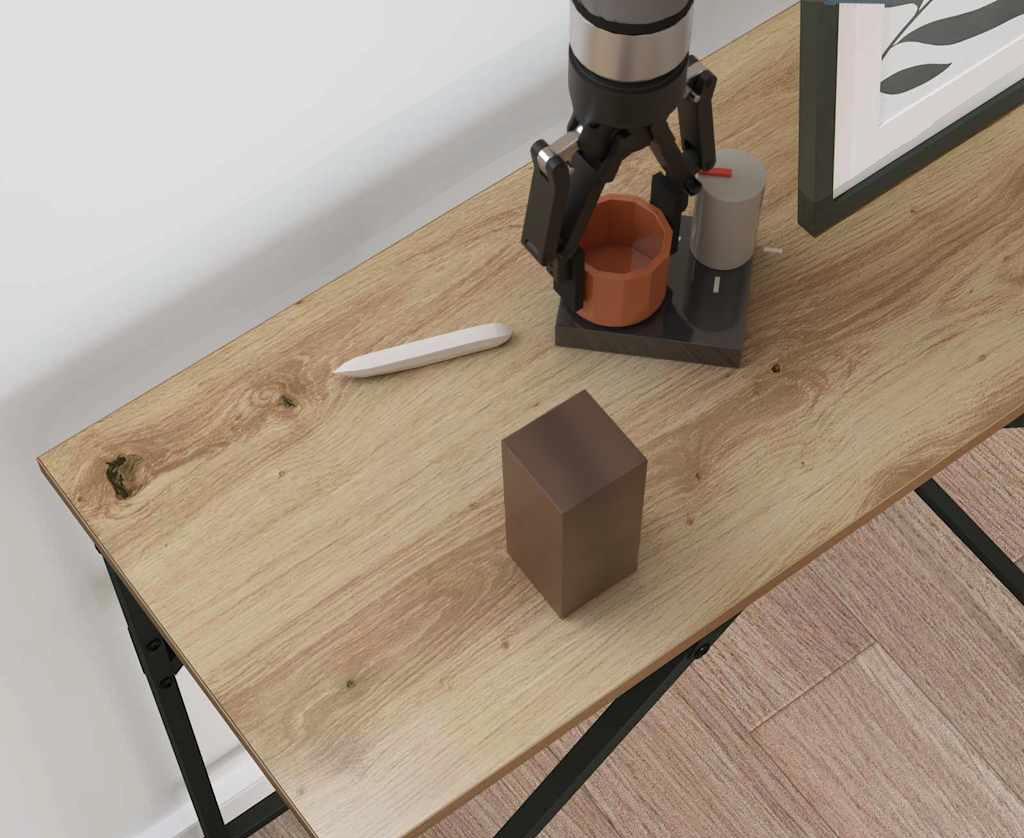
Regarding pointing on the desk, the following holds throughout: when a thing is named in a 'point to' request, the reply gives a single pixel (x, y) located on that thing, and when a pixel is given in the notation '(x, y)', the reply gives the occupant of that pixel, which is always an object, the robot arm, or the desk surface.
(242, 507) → the desk surface
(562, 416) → the stand
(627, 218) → the bowl
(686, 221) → the stove
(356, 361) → the pen
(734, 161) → the knob
